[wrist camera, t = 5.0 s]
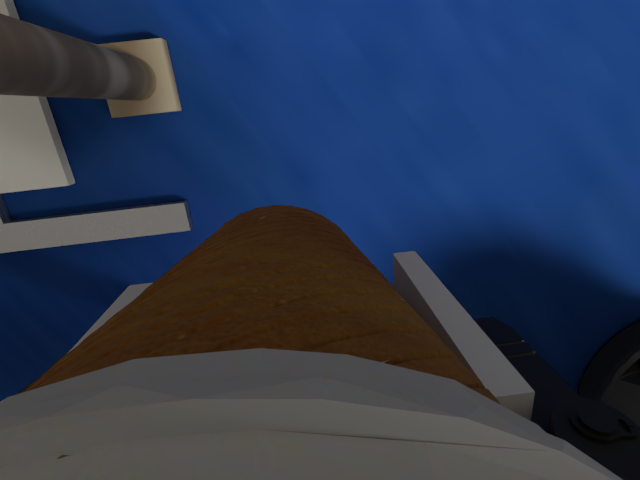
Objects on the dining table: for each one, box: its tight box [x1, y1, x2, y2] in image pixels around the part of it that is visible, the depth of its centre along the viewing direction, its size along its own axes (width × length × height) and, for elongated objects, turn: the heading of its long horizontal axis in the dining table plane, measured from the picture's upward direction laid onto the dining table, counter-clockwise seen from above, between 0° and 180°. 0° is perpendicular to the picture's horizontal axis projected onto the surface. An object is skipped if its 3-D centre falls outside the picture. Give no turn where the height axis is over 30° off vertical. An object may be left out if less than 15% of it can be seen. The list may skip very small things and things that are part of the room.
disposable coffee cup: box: [0, 205, 623, 480], centre depth 8 cm, size 10×10×12 cm
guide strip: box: [0, 194, 193, 253], centre depth 25 cm, size 14×4×1 cm, turn 96°
